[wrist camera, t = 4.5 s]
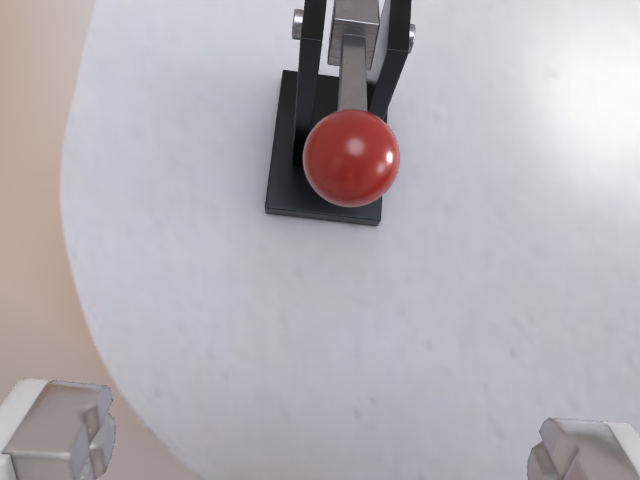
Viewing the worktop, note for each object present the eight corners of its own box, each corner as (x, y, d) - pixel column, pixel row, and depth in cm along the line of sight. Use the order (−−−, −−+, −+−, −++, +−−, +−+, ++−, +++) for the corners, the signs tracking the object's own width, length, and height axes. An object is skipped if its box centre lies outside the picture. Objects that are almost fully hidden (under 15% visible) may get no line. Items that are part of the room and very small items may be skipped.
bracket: (377, 226, 37) (439, 120, 23) (265, 213, 37) (258, 97, 23) (386, 91, 41) (444, -73, 26) (282, 78, 40) (286, -96, 26)
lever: (390, 232, 20) (413, 157, 17) (295, 221, 20) (303, 143, 17) (380, 55, 29) (394, -12, 26) (315, 47, 29) (322, -22, 26)
